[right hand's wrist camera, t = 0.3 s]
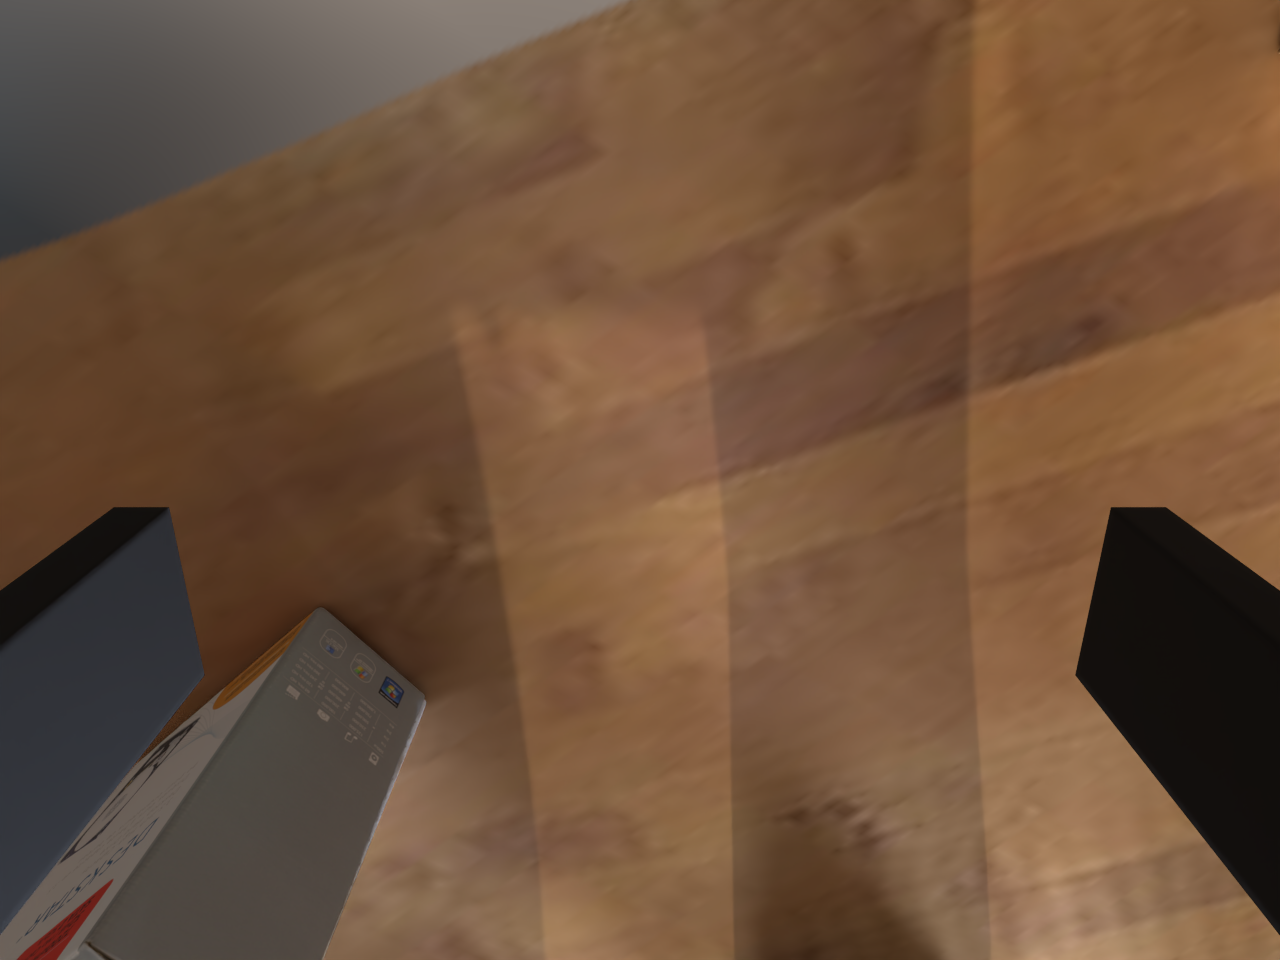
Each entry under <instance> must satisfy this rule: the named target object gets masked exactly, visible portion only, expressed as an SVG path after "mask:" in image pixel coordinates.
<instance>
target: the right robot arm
mask: <svg viewBox="0 0 1280 960" xmlns="http://www.w3.org/2000/svg"><path fill="white" fill-rule="evenodd" d="M203 677H204V670H203V665H202V661H201V656H200V651H199V646H198V642H197V637H196V632H195V628H194V623H193V618H192V613H191V609H190V604H189V599H188V595H187V590H186V585H185V581H184V576H183V571H182V566H181V562H180V557H179V552H178V548H177V543H176V538H175V533H174V529H173V524H172V519H171V515H170V510H169V507H114V508H112V509H111V510H110V511H108V512H107V513H106V514H104V515H103V516H102V517H100V518H99V519H97V520H96V521H95V522H93V523H92V524H91V525H89V526H88V527H87V528H85V529H84V530H82V531H81V532H80V533H78V534H77V535H76V536H74V537H73V538H72V539H70V540H69V541H67V542H66V543H65V544H63V545H62V546H61V547H59V548H58V549H57V550H55V551H54V552H52V553H51V554H50V555H48V556H47V557H46V558H44V559H43V560H42V561H40V562H39V563H38V564H36V565H35V566H33V567H32V568H31V569H29V570H28V571H27V572H25V573H24V574H23V575H21V576H20V577H18V578H17V579H16V580H14V581H13V582H12V583H10V584H9V585H8V586H6V587H5V588H3V589H2V590H1V591H0V935H1V933H2V932H3V931H4V930H5V928H6V927H7V926H8V925H9V923H10V922H11V921H12V919H13V918H14V917H15V916H16V914H17V913H18V912H19V911H20V909H21V908H22V907H23V906H24V904H25V903H26V902H27V900H28V899H29V898H30V897H31V895H32V894H33V893H34V892H35V890H36V889H37V888H38V886H39V885H40V884H41V883H42V881H43V880H44V879H45V878H46V876H47V875H48V874H49V872H50V871H51V870H52V869H53V867H54V866H55V865H56V864H57V862H58V861H59V860H60V858H61V857H62V856H63V855H64V853H65V852H66V851H67V850H68V848H69V847H70V846H71V844H72V843H73V842H74V841H75V839H76V838H77V837H78V836H79V834H80V833H81V832H82V830H83V829H84V828H85V827H86V825H87V824H88V823H89V822H90V820H91V819H92V818H93V816H94V815H95V814H96V813H97V811H98V810H99V809H100V808H101V806H102V805H103V804H104V802H105V801H106V800H107V799H108V797H109V796H110V795H111V794H112V792H113V791H114V790H115V788H116V787H117V786H118V785H119V783H120V782H121V781H122V780H123V778H124V777H125V776H126V775H127V773H128V772H129V771H130V769H131V768H132V767H133V766H134V764H135V763H136V762H137V761H138V759H139V758H140V757H141V755H142V754H143V753H144V752H145V750H146V749H147V748H148V747H149V745H150V744H151V743H152V741H153V740H154V739H155V738H156V736H157V735H158V734H159V733H160V731H161V730H162V729H163V727H164V726H165V725H166V724H167V722H168V721H169V720H170V719H171V717H172V716H173V715H174V713H175V712H176V711H177V710H178V708H179V707H180V706H181V705H182V703H183V702H184V701H185V699H186V698H187V697H188V696H189V694H190V693H191V692H192V691H193V689H194V688H195V687H196V685H197V684H198V683H199V682H200V680H201V679H202V678H203ZM1076 677H1077V678H1078V679H1079V680H1080V682H1081V683H1082V684H1083V685H1084V687H1085V688H1086V689H1087V691H1088V692H1089V693H1090V694H1091V696H1092V697H1093V698H1094V699H1095V701H1096V702H1097V703H1098V705H1099V706H1100V707H1101V708H1102V710H1103V711H1104V712H1105V713H1106V715H1107V716H1108V717H1109V719H1110V720H1111V721H1112V722H1113V724H1114V725H1115V726H1116V727H1117V729H1118V730H1119V731H1120V733H1121V734H1122V735H1123V736H1124V738H1125V739H1126V740H1127V741H1128V743H1129V744H1130V745H1131V747H1132V748H1133V749H1134V750H1135V752H1136V753H1137V754H1138V755H1139V757H1140V758H1141V759H1142V761H1143V762H1144V763H1145V764H1146V766H1147V767H1148V768H1149V769H1150V771H1151V772H1152V773H1153V775H1154V776H1155V777H1156V778H1157V780H1158V781H1159V782H1160V783H1161V785H1162V786H1163V787H1164V788H1165V790H1166V791H1167V792H1168V794H1169V795H1170V796H1171V797H1172V799H1173V800H1174V801H1175V802H1176V804H1177V805H1178V806H1179V808H1180V809H1181V810H1182V811H1183V813H1184V814H1185V815H1186V816H1187V818H1188V819H1189V820H1190V822H1191V823H1192V824H1193V825H1194V827H1195V828H1196V829H1197V830H1198V832H1199V833H1200V834H1201V836H1202V837H1203V838H1204V839H1205V841H1206V842H1207V843H1208V844H1209V846H1210V847H1211V848H1212V850H1213V851H1214V852H1215V853H1216V855H1217V856H1218V857H1219V858H1220V860H1221V861H1222V862H1223V864H1224V865H1225V866H1226V867H1227V869H1228V870H1229V871H1230V872H1231V874H1232V875H1233V876H1234V878H1235V879H1236V880H1237V881H1238V883H1239V884H1240V885H1241V886H1242V888H1243V889H1244V890H1245V892H1246V893H1247V894H1248V895H1249V897H1250V898H1251V899H1252V900H1253V902H1254V903H1255V904H1256V906H1257V907H1258V908H1259V909H1260V911H1261V912H1262V913H1263V914H1264V916H1265V917H1266V918H1267V919H1268V921H1269V922H1270V923H1271V925H1272V926H1273V927H1274V928H1275V930H1276V931H1277V932H1278V933H1279V935H1280V591H1279V590H1278V589H1277V588H1275V587H1274V586H1272V585H1271V584H1270V583H1268V582H1267V581H1266V580H1264V579H1263V578H1262V577H1260V576H1259V575H1257V574H1256V573H1255V572H1253V571H1252V570H1251V569H1249V568H1248V567H1247V566H1245V565H1244V564H1242V563H1241V562H1240V561H1238V560H1237V559H1236V558H1234V557H1233V556H1232V555H1230V554H1229V553H1227V552H1226V551H1225V550H1223V549H1222V548H1221V547H1219V546H1218V545H1217V544H1215V543H1214V542H1213V541H1211V540H1210V539H1208V538H1207V537H1206V536H1204V535H1203V534H1202V533H1200V532H1199V531H1198V530H1196V529H1195V528H1193V527H1192V526H1191V525H1189V524H1188V523H1187V522H1185V521H1184V520H1183V519H1181V518H1180V517H1178V516H1177V515H1176V514H1174V513H1173V512H1172V511H1170V510H1169V509H1168V508H1166V507H1111V510H1110V515H1109V519H1108V524H1107V529H1106V533H1105V538H1104V543H1103V548H1102V552H1101V557H1100V562H1099V566H1098V571H1097V576H1096V581H1095V585H1094V590H1093V595H1092V599H1091V604H1090V609H1089V613H1088V618H1087V623H1086V628H1085V632H1084V637H1083V642H1082V646H1081V651H1080V656H1079V661H1078V665H1077V670H1076Z"/></svg>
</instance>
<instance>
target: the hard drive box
mask: <svg viewBox="0 0 1280 960" xmlns="http://www.w3.org/2000/svg"><path fill="white" fill-rule="evenodd" d="M424 698H425V695H424V694H423V693H422V692H421V691H419V690H418V689H417V688H416V687H415V686H414V685H413V684H412V683H410V682H409V681H408V680H407V679H406V678H404V677H403V676H402V675H401V674H400V673H399V672H397V671H396V670H395V669H394V668H393V667H392V666H391V665H389V664H388V663H387V662H386V661H385V660H384V659H382V658H381V657H380V656H379V655H378V654H377V653H376V652H374V651H373V650H372V649H371V648H370V647H369V646H367V645H366V644H365V643H364V642H363V641H361V640H360V639H359V638H358V637H357V636H356V635H355V634H353V633H352V632H351V631H350V630H349V629H348V628H347V627H346V626H344V625H343V624H342V623H341V622H340V621H339V620H337V619H336V618H335V617H334V616H333V615H332V614H330V613H329V612H328V611H327V610H325V609H324V608H323V607H319V608H317V609H315V610H314V611H313V612H312V613H310V614H309V615H308V616H307V617H306V618H304V619H303V620H302V621H301V622H300V623H299V624H297V625H296V626H295V627H294V628H293V629H292V630H291V631H290V632H288V633H287V634H286V635H285V636H284V637H282V638H281V639H280V640H279V641H278V642H276V643H275V644H274V645H273V646H272V647H271V648H270V649H268V650H267V651H266V652H265V653H264V654H263V655H262V656H260V657H259V658H258V659H257V660H256V661H255V662H254V663H252V664H251V665H250V666H249V667H248V668H247V669H245V670H244V671H243V672H242V673H241V674H240V675H238V676H237V677H236V678H235V679H234V680H233V681H232V682H230V683H229V684H228V685H227V686H226V687H225V688H224V689H222V690H221V691H220V692H219V693H218V694H216V695H215V696H214V697H213V698H212V699H211V700H210V701H208V702H207V703H206V704H205V705H204V706H203V707H201V708H200V709H199V710H198V711H197V712H196V713H194V714H193V715H192V716H191V717H190V718H189V719H187V720H186V721H185V722H183V723H182V724H181V725H180V726H179V727H178V728H177V729H176V730H175V731H174V732H173V733H171V734H170V735H169V736H168V737H167V738H165V739H164V740H163V741H162V742H161V743H160V744H159V745H157V746H156V747H155V748H154V749H153V750H152V751H151V752H150V753H149V754H147V755H146V756H145V757H144V758H143V759H142V760H140V761H139V762H138V763H137V764H136V765H135V766H134V767H133V768H132V769H131V771H130V772H129V773H128V774H127V775H126V777H125V778H124V779H123V780H122V782H121V783H120V784H119V785H118V787H117V788H116V789H115V790H114V792H113V793H112V794H111V795H110V797H109V798H108V799H107V800H106V801H105V803H104V804H103V805H102V806H101V808H100V809H99V810H98V811H97V813H96V814H95V815H94V816H93V818H92V819H91V820H90V822H89V823H88V824H87V825H86V827H85V828H84V829H83V830H82V832H81V833H80V834H79V836H78V837H77V838H76V839H75V841H74V842H73V843H72V844H71V846H70V847H69V848H68V850H67V851H66V852H65V853H64V855H63V856H62V857H61V858H60V860H59V861H58V862H57V864H56V865H55V866H54V867H53V869H52V870H51V871H50V872H49V874H48V875H47V876H46V878H45V879H44V880H43V881H42V883H41V884H40V885H39V886H38V888H37V889H36V890H35V892H34V893H33V894H32V895H31V897H30V898H29V899H28V900H27V902H26V903H25V904H24V906H23V907H22V908H21V909H20V911H19V912H18V913H17V914H16V916H15V917H14V918H13V919H12V921H11V922H10V923H9V925H8V926H7V927H6V928H5V930H4V931H3V932H2V933H1V935H0V960H323V959H324V956H325V954H326V951H327V949H328V946H329V944H330V941H331V939H332V936H333V934H334V931H335V929H336V926H337V924H338V921H339V919H340V916H341V914H342V911H343V909H344V906H345V904H346V901H347V899H348V897H349V894H350V892H351V889H352V887H353V884H354V882H355V879H356V877H357V874H358V872H359V870H360V867H361V865H362V862H363V860H364V857H365V855H366V852H367V850H368V847H369V845H370V842H371V840H372V837H373V835H374V832H375V830H376V827H377V825H378V822H379V820H380V818H381V815H382V813H383V810H384V808H385V805H386V803H387V800H388V798H389V795H390V793H391V790H392V788H393V785H394V783H395V781H396V778H397V776H398V773H399V771H400V768H401V766H402V763H403V761H404V758H405V756H406V753H407V751H408V748H409V746H410V744H411V741H412V739H413V736H414V734H415V731H416V729H417V726H418V724H419V721H420V719H421V716H422V713H423V711H424V708H425V705H426V701H425V700H424Z"/></svg>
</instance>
